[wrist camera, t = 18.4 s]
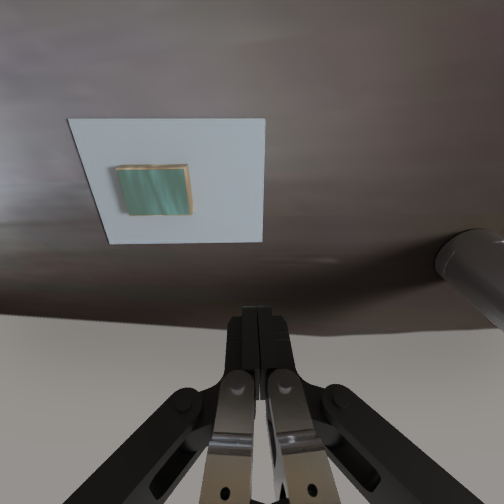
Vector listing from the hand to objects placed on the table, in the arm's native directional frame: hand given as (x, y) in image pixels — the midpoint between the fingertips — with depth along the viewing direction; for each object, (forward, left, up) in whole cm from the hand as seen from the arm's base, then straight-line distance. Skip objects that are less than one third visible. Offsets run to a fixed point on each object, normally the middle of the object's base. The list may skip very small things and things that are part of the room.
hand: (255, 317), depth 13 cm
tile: (+7, 0, -22) cm, 23 cm away
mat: (+9, 0, -23) cm, 25 cm away
